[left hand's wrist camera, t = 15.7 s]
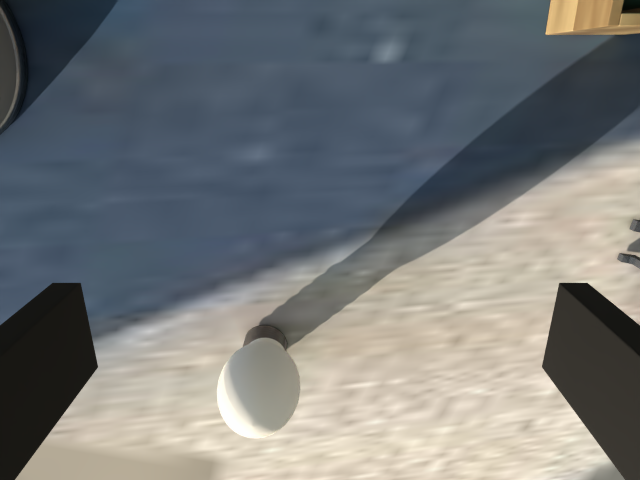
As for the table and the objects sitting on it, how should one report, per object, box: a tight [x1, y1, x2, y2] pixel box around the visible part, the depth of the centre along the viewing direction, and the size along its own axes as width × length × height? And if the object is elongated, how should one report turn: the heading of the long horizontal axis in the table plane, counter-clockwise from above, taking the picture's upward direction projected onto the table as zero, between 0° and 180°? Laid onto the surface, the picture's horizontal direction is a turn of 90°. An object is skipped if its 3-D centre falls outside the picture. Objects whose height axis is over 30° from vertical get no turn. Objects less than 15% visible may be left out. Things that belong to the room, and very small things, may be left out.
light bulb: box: [217, 325, 300, 438], centre depth 39 cm, size 7×7×11 cm
